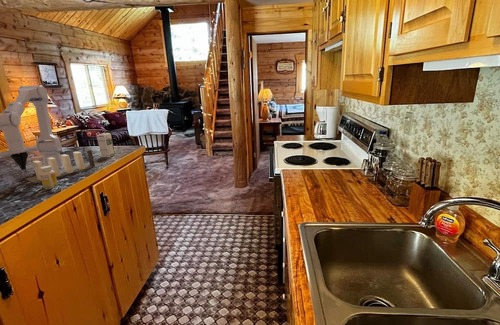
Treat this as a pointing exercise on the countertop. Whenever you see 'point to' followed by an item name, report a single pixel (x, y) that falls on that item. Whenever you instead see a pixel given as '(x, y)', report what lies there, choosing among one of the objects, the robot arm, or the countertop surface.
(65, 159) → the domino
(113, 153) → the syrup box
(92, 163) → the domino
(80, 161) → the domino
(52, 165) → the domino
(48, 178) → the supplement bottle
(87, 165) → the mat
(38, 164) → the domino
